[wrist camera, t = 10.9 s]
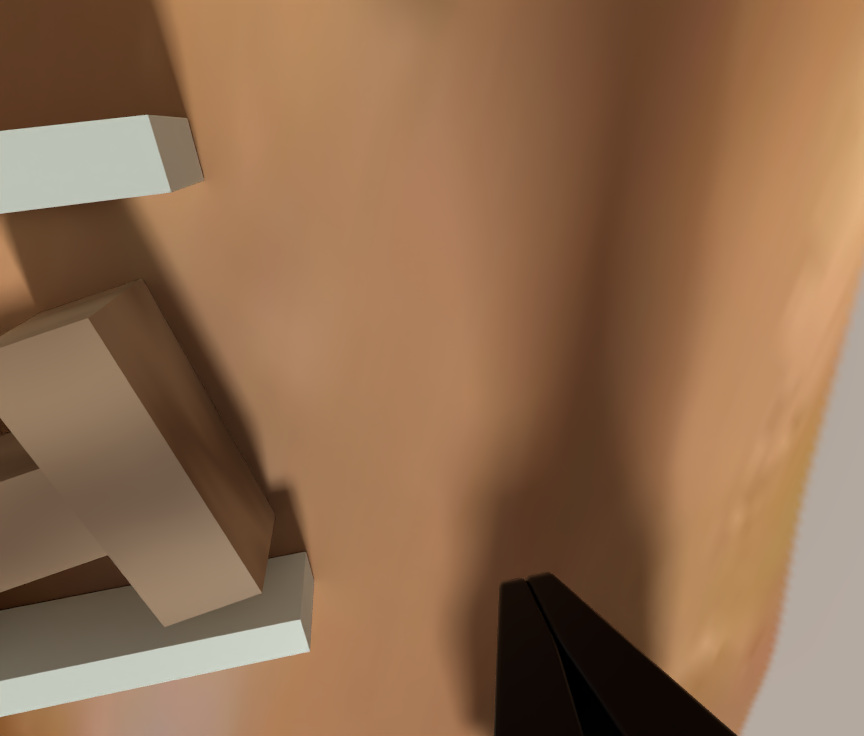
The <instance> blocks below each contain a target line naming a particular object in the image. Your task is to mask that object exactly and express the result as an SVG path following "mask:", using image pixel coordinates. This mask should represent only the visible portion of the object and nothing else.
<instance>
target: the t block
mask: <svg viewBox="0 0 864 736" xmlns="http://www.w3.org/2000/svg"><path fill="white" fill-rule="evenodd" d="M0 418H1V420H2V421H3V422H4V423H5V425H6V426H7V427H8V429H9V430H10V431H11V432H10V433H7V434H4V435H1V436H0V592H3V591H6V590H9V589H11V588H14V587H17V586H20V585H23V584H26V583H29V582H32V581H35V580H37V579H40V578H43V577H46V576H49V575H52V574H55V573H58V572H61V571H63V570H66V569H69V568H72V567H75V566H78V565H81V564H84V563H87V562H89V561H92V560H95V559H98V558H101V557H104V556H107V555H108V556H109V557H110V559H111V560H112V561H113V562H114V564H115V565H116V566H117V567H118V569H119V570H120V571H121V573H122V574H123V575H124V576H125V578H126V579H127V580H128V581H129V583H130V584H131V585H132V587H133V588H134V589H135V590H136V592H137V593H138V594H139V595H140V597H141V598H142V599H143V601H144V602H145V603H146V604H147V606H148V607H149V608H150V609H151V611H152V612H153V613H154V615H155V616H156V617H157V618H158V620H159V621H160V622H161V624H162V625H163V626H164V627H167V626H169V625H172V624H175V623H178V622H181V621H184V620H187V619H189V618H192V617H195V616H198V615H201V614H204V613H207V612H209V611H212V610H215V609H218V608H221V607H224V606H227V605H230V604H232V603H235V602H238V601H241V600H244V599H247V598H250V597H252V596H255V595H258V594H261V593H262V591H263V585H264V579H265V573H266V567H267V561H268V556H269V550H270V544H271V538H272V532H273V527H274V521H275V513H274V512H273V510H272V508H271V506H270V505H269V503H268V501H267V499H266V497H265V496H264V494H263V492H262V490H261V489H260V487H259V485H258V483H257V481H256V480H255V478H254V476H253V474H252V473H251V471H250V469H249V467H248V465H247V464H246V462H245V460H244V458H243V457H242V455H241V453H240V451H239V450H238V448H237V446H236V444H235V442H234V441H233V439H232V437H231V435H230V434H229V432H228V430H227V428H226V426H225V425H224V423H223V421H222V419H221V418H220V416H219V414H218V412H217V410H216V409H215V407H214V405H213V403H212V402H211V400H210V398H209V396H208V395H207V393H206V391H205V389H204V387H203V386H202V384H201V382H200V380H199V379H198V377H197V375H196V373H195V371H194V370H193V368H192V366H191V364H190V363H189V361H188V359H187V357H186V355H185V354H184V352H183V350H182V348H181V347H180V345H179V343H178V341H177V340H176V338H175V336H174V334H173V332H172V331H171V329H170V327H169V325H168V324H167V322H166V320H165V318H164V316H163V315H162V313H161V311H160V309H159V308H158V306H157V304H156V302H155V300H154V299H153V297H152V295H151V293H150V292H149V290H148V288H147V286H146V285H145V283H144V281H143V279H142V278H141V279H138V280H135V281H133V282H130V283H127V284H124V285H121V286H118V287H115V288H112V289H109V290H106V291H103V292H100V293H97V294H94V295H91V296H88V297H85V298H82V299H79V300H76V301H73V302H70V303H67V304H64V305H61V306H58V307H55V308H52V309H49V310H46V311H44V312H41V313H38V314H37V315H35V316H33V317H32V318H30V319H28V320H27V321H25V322H23V323H22V324H20V325H18V326H17V327H15V328H13V329H12V330H10V331H8V332H7V333H5V334H3V335H2V336H0Z"/></svg>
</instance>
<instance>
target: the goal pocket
mask: <svg viewBox="0 0 864 736" xmlns="http://www.w3.org/2000/svg"><path fill="white" fill-rule="evenodd" d="M201 181H204V178H203V174H202V170H201V167H200V163H199V159H198V156H197V152H196V149H195V145H194V141H193V138H192V134H191V130H190V127H189V123H188V119H187V118H181V117H169V116H158V115H140V116H131V117H122V118H113V119H104V120H95V121H86V122H77V123H68V124H59V125H50V126H41V127H32V128H23V129H14V130H5V131H0V214H2V213H10V212H18V211H26V210H34V209H42V208H50V207H58V206H66V205H74V204H82V203H90V202H98V201H106V200H114V199H122V198H130V197H138V196H146V195H154V194H162V193H170V192H174V191H176V190H179V189H182V188H185V187H188V186H190V185H193V184H196V183H199V182H201ZM313 593H314V579H313V575H312V571H311V568H310V564H309V560H308V557H307V553H306V552H301V553H296V554H290V555H285V556H280V557H275V558H270V559H268V561H267V567H266V573H265V579H264V585H263V591H262V593H261V594H258V595H255V596H252V597H250V598H247V599H244V600H241V601H238V602H235V603H232V604H230V605H227V606H224V607H221V608H218V609H215V610H212V611H209V612H207V613H204V614H201V615H198V616H195V617H192V618H189V619H187V620H184V621H181V622H178V623H175V624H172V625H169V626H167V627H164V626H163V625H162V624H161V622H160V621H159V620H158V618H157V617H156V616H155V615H154V613H153V612H152V611H151V609H150V608H149V607H148V606H147V604H146V603H145V602H144V601H143V599H142V598H141V597H140V595H139V594H138V593H137V592H136V590H135V589H134V588H133V587H132V585H130V586H125V587H120V588H115V589H109V590H104V591H99V592H94V593H89V594H84V595H78V596H73V597H68V598H63V599H58V600H53V601H47V602H42V603H37V604H32V605H27V606H21V607H16V608H11V609H6V610H1V611H0V717H2V716H7V715H11V714H16V713H21V712H26V711H30V710H35V709H40V708H45V707H49V706H54V705H59V704H63V703H68V702H73V701H78V700H82V699H87V698H92V697H96V696H101V695H106V694H111V693H115V692H120V691H125V690H130V689H134V688H139V687H144V686H148V685H153V684H158V683H163V682H167V681H172V680H177V679H182V678H186V677H191V676H196V675H200V674H205V673H210V672H215V671H219V670H224V669H229V668H234V667H238V666H243V665H248V664H252V663H257V662H262V661H267V660H271V659H276V658H281V657H285V656H290V655H295V654H300V653H304V652H309V651H310V642H311V626H312V609H313Z"/></svg>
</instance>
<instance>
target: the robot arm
mask: <svg viewBox="0 0 864 736" xmlns="http://www.w3.org/2000/svg"><path fill="white" fill-rule="evenodd" d="M494 736H737V735H736V734H735V733H734V732H733V731H731V730H730V729H729V728H728V727H727V726H726V725H725V724H723V723H722V722H721V721H720V720H719V719H718V718H717V717H715V716H714V715H713V714H712V713H711V712H710V711H709V710H707V709H706V708H705V707H704V706H703V705H702V704H701V703H699V702H698V701H697V700H696V699H695V698H694V697H693V696H691V695H690V694H689V693H688V692H687V691H686V690H685V689H683V688H682V687H681V686H680V685H679V684H678V683H677V682H675V681H674V680H673V679H672V678H671V677H670V676H669V675H667V674H666V673H665V672H664V671H663V670H662V669H661V668H659V667H658V666H657V665H656V664H655V663H654V662H653V661H651V660H650V659H649V658H648V657H647V656H646V655H645V654H643V653H642V652H641V651H640V650H639V649H638V648H637V647H635V646H634V645H633V644H632V643H631V642H630V641H629V640H627V639H626V638H625V637H624V636H623V635H622V634H621V633H619V632H618V631H617V630H616V629H615V628H614V627H613V626H611V625H610V624H609V623H608V622H607V621H606V620H605V619H603V618H602V617H601V616H600V615H599V614H598V613H597V612H595V611H594V610H593V609H592V608H591V607H590V606H589V605H587V604H586V603H585V602H584V601H583V600H582V599H581V598H579V597H578V596H577V595H576V594H575V593H574V592H573V591H571V590H570V589H569V588H568V587H567V586H566V585H565V584H563V583H562V582H561V581H560V580H559V579H558V578H557V577H555V576H554V575H553V574H551V573H548V572H546V573H541V574H536V575H531V576H528V577H527V578H526V580H525V579H523V578H516V579H512V580H507V581H503V582H501V583H500V586H499V607H498V634H497V661H496V688H495V714H494Z"/></svg>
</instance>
